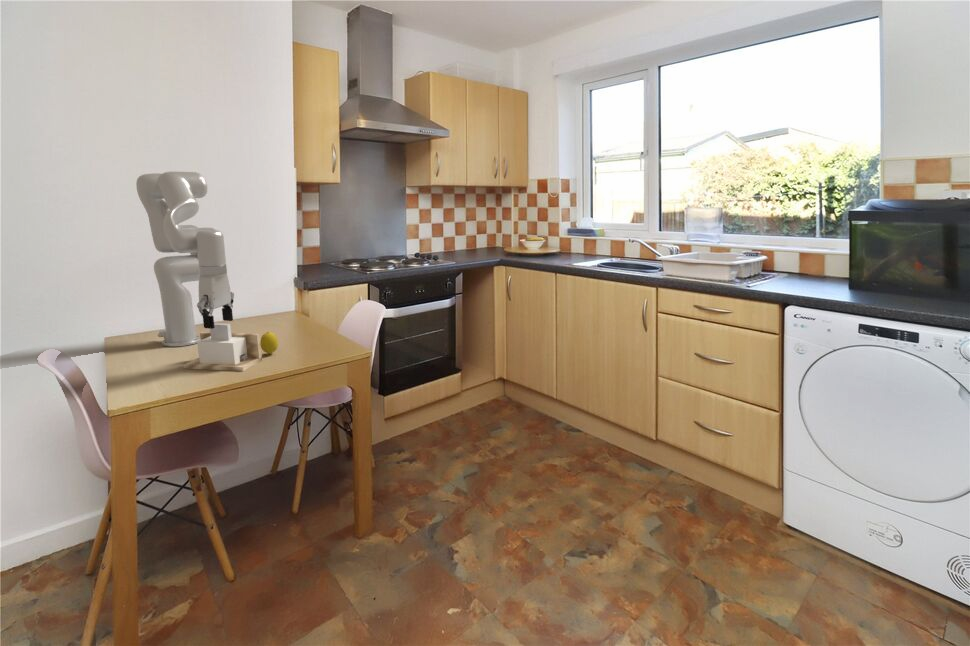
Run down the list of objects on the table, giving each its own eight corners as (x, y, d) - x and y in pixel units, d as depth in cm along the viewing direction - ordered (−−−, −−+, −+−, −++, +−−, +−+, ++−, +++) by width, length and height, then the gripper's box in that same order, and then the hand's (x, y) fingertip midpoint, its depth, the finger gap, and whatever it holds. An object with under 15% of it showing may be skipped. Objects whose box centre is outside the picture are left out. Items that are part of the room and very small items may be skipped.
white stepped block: (199, 363, 172) (195, 326, 169) (213, 356, 179) (209, 321, 176) (235, 364, 170) (231, 327, 168) (247, 358, 177) (243, 322, 174)
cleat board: (183, 368, 171) (180, 340, 169) (205, 358, 181) (202, 332, 179) (243, 371, 168) (240, 342, 166) (262, 360, 179) (259, 334, 177)
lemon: (272, 351, 189) (270, 329, 188) (282, 353, 186) (280, 331, 184) (258, 355, 185) (255, 332, 183) (268, 357, 182) (265, 334, 180)
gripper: (219, 266, 177) (224, 317, 181) (183, 274, 160) (190, 330, 165) (240, 267, 176) (245, 318, 180) (207, 275, 159) (213, 332, 164)
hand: (218, 324), depth 172 cm, fingers open, 9 cm apart
